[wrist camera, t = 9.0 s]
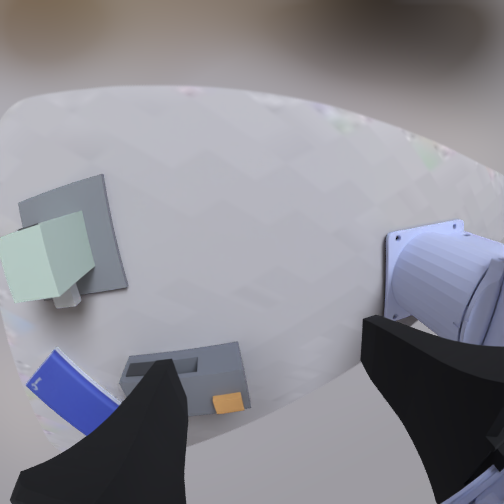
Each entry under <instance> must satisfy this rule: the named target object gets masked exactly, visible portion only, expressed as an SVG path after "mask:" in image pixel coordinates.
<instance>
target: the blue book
mask: <svg viewBox="0 0 504 504" xmlns="http://www.w3.org/2000/svg"><path fill="white" fill-rule="evenodd" d="M26 386H27V387H28V388H29V389H30V390H31V391H32V392H33V393H34V394H35V395H37V396H38V397H39V398H40V399H41V400H42V401H43V402H44V403H45V404H47V405H48V406H49V407H50V408H51V409H52V410H54V411H55V412H56V413H57V414H59V415H60V416H61V417H62V418H63V419H65V420H66V421H67V422H69V423H70V424H71V425H72V426H74V427H75V428H76V429H78V430H79V431H81V432H82V433H83V434H85V435H86V436H87V435H89V434H90V433H91V432H93V431H94V430H95V429H96V428H97V427H98V426H99V425H101V424H102V423H103V422H104V421H105V420H106V419H107V418H108V417H109V416H110V415H111V414H112V413H113V412H114V411H115V410H116V409H117V408H118V406H119V405H120V404H121V402H120V401H119V400H117V399H116V398H115V397H113V396H112V395H111V394H110V393H108V392H107V391H106V390H105V389H103V388H102V387H101V386H100V385H98V384H97V383H96V382H95V381H94V380H93V379H91V378H90V377H89V376H88V375H87V374H86V373H84V372H83V371H82V370H81V369H80V368H79V367H78V366H77V365H76V364H75V363H74V362H72V361H71V360H70V359H69V358H68V357H67V356H66V355H65V354H64V353H63V352H62V351H61V350H60V349H59V348H58V347H57V346H56V348H55V349H54V350H53V351H52V352H51V353H50V355H49V356H48V357H47V358H46V359H45V361H44V362H43V363H42V364H41V365H40V367H39V368H38V369H37V370H36V371H35V373H34V374H33V375H32V376H31V378H30V379H29V380H28V381H27V383H26Z"/></svg>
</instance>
